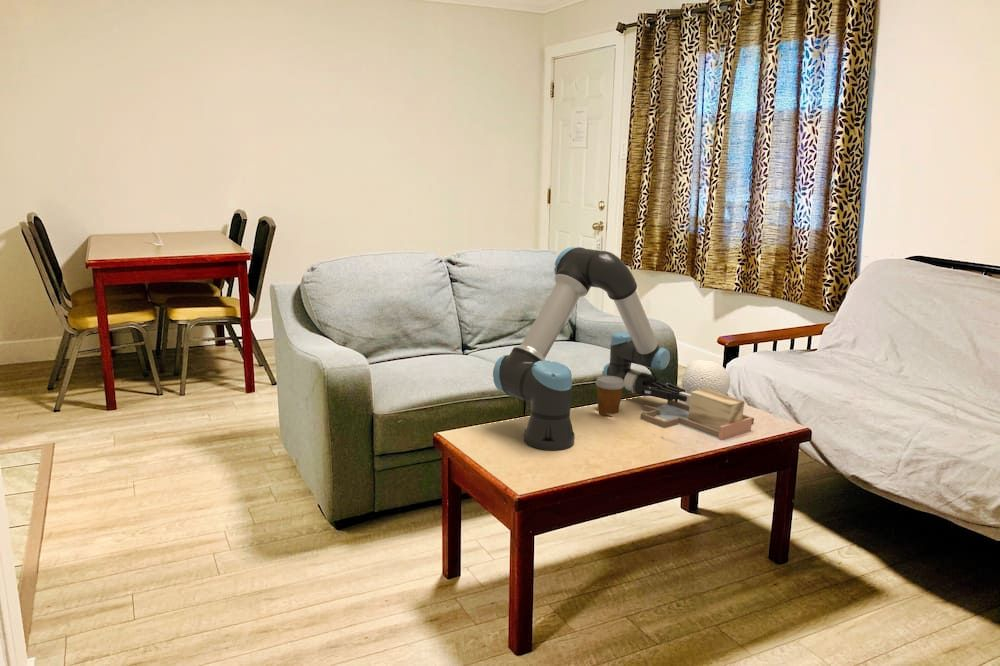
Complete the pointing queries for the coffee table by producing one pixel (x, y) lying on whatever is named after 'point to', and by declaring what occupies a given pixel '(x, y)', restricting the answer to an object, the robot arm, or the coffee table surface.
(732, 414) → the maple block
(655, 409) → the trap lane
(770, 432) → the coffee table surface
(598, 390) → the disposable coffee cup
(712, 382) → the decorative orb
